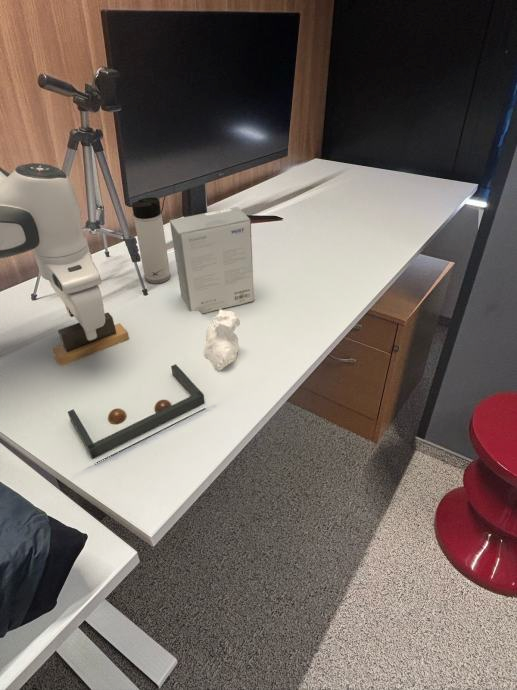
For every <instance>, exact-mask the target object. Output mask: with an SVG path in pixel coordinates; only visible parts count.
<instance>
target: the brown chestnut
mask: <svg viewBox="0 0 517 690" xmlns="http://www.w3.org/2000/svg"><path fill="white" fill-rule="evenodd" d="M127 417H128V416H127V412H126V411H125V410H124V409H122V408H117V407H116V408H114V409H112V410H110V411H109V413H108V415H107V420H108V423H109V424H111V425H120V424H122V423H124V422H125V421H126V420H127Z"/></svg>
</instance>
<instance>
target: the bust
mask: <svg viewBox="0 0 517 690" xmlns="http://www.w3.org/2000/svg"><path fill="white" fill-rule="evenodd" d="M240 323H241V320H240V318H239V316H238V314H237V313H236V312H234V311H229V310H223V309H218V314H216V315H215V316H214V317H212V322H211V323H210V324H209V326H208V328H207V329H206V333H205V345H204V348H203V357H205V359H207V360H208V361H209V362H210V363H211V364H212V365H213V367H214V369H215V370H217V371H218V372H220V371H223V370H224V369H225V368H226V367H227V366H229V364H231V363H233V362H235V361H236V360H237V357H238V352H239V350H240V345H239V338H238V335H237V334H236V333H235V330H236V328H237V327H239V326H240V325H241V324H240Z"/></svg>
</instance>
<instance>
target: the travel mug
mask: <svg viewBox="0 0 517 690" xmlns="http://www.w3.org/2000/svg"><path fill="white" fill-rule="evenodd" d="M131 209H132V213H133V220H134V226H135V231H136V232H135V233H136V237H137V242H138V248H139V253H140V258H141V264H142V269H143V275H144V276H143V277H144V279H145V281H146V282H147V283H149V284H155V285H157V284H159V285H160V284H162V283H165V282H167V281H169V280H170V278H171V271H170V262H169V256H168V249H167V243H166V235H165V229H164V228H165V227H164V222H163V215H162V210H161V204H160V199H159V198H158V197H144V198H141V199H138V200H137V201H135V202H132V204H131Z"/></svg>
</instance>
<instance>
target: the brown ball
mask: <svg viewBox="0 0 517 690" xmlns="http://www.w3.org/2000/svg"><path fill="white" fill-rule="evenodd" d="M172 405H173V404H172V403H171V402H170V401H169V400H167V399H160V400H158V401H157V402H156V403H155V404H154V409H153V411H154V414H155V413H157V412H159V411H161V410H163V409H166V408H168V407H170V406H172Z"/></svg>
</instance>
